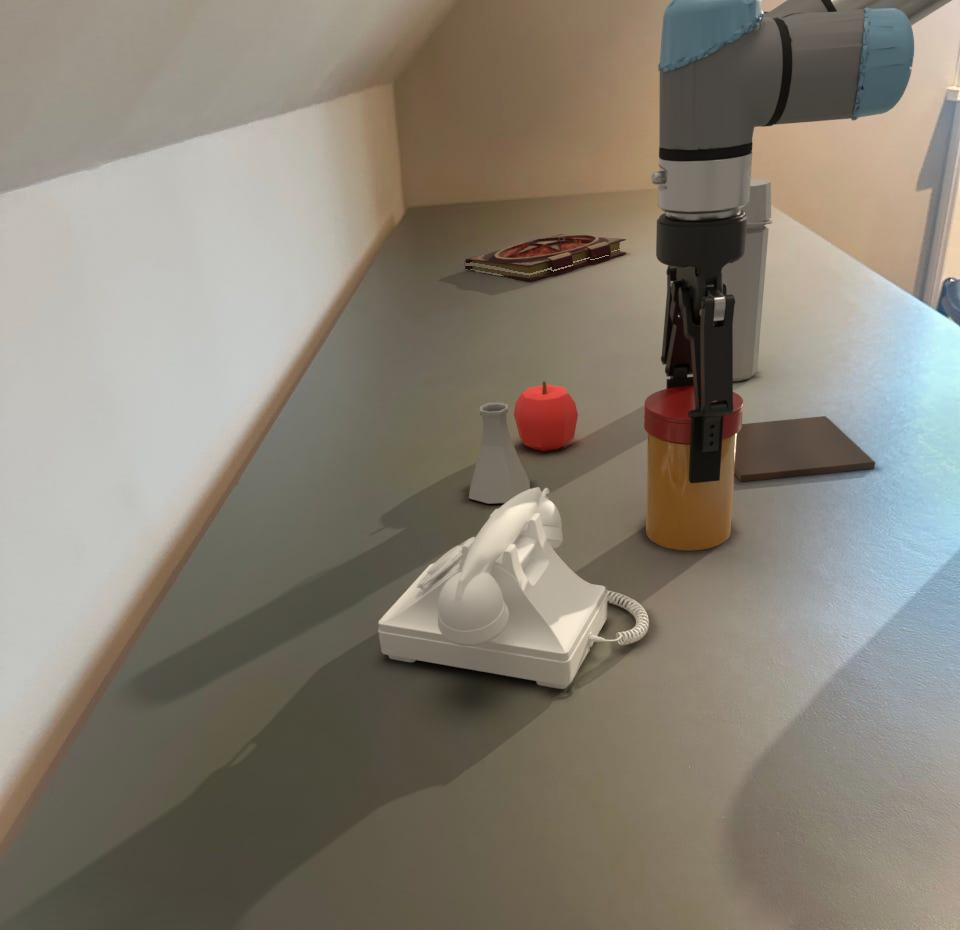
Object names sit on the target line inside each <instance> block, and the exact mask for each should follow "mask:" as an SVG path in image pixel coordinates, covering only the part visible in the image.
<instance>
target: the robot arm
mask: <svg viewBox="0 0 960 930" xmlns="http://www.w3.org/2000/svg"><path fill="white" fill-rule="evenodd" d="M952 1H953V0H785V1H783V2H782V3H781V4H779V5H778V6H776V7H775V8H773V9H771V10H769V11H763V9H762V8H763V6H762V4H763V0H671V1H669V2H670V3H668V4H667V6H666V7H665V10H664V12H663V16H662V25H661V26H662V27H661V38H660V39H661V40H660V51H659V52H660V54H659V63H658V68H657V69H658V72H659V143H658V144H659V147H658V167H659V171H656V172H653V173H652V174H651V183H652V185H656V186H657V207H658V208H659V209H660V210H661V211H663V212H664V213H662V214H660V215H659V217H658V218H657V219H656V239H655V241H656V243H655V247H656V248H655V256H656V259H657V261H658V262H659V263H661V264H663V265H666V266H667V268H666V279H667V280H666V298H665V299H666V301H665V309H664V310H665V311H664V323H663V334H662V348H661V356H660V362H661V364H662V366H665V367H664V373H665V376H666V377H669V378H666V388H665V389H668V388H673V387H680V386H694V395H695V410H690V411H688V412H687V414H688V417H689V418H691V439H690V462H689V481H690V483H699V482H710V481H720V466H721V450H722V434H723V418H724V415H730V414H732V412H733V392H734V382H733V315H734V305H735V299H734V295H733V294H729V295H727V290H726V284H725V283H723V282H722V273H721V271H722V268H723V267H724V266H725V265H726V264H728V263H733V262H736V261H738V260H739V259H741V258H742V257H743V255H744V253H745V243H746V228H747V215H746V214H745V212H744V211H742V210H741V208H742V207H744V206H745V205H746V204H747V203H748V202H749V196H750V181H751V179H752V164H753V137H754V132H755V131H754V130H755V128H757V127H761V128H762V127H772V126H774V125H775V126H776V125H788V124H801V123H814V122H824V121H835V120H836V121H838V120H851V121H857V120H858V119H859V118H864V117H865V118H866V117H870V116H871V117H872V116H877V115H882V114H885V113H887V112H889V111H891V110H892V109H894V108H895V106H896V105H897V104H899V102H900V100H901V99H902V97H903V95H904V94H905V92H906V89H907V87H908V84H909V82H910V79H911V75H912V71H913V65H914V57H915V36H914V31H913V26H914V25H915V24H917V23H918V22H920V21H922V20H924V18H926V17H928V16H929V15H931V14H932V13H934V12H936V11H938V10H939V9H941V8H942V7H944V6H945V5H947V4H949V3H951V2H952ZM689 375H690V376H689ZM691 375H692V376H691ZM712 401H716V402H712Z"/></svg>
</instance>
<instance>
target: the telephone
mask: <svg viewBox="0 0 960 930" xmlns="http://www.w3.org/2000/svg"><path fill="white" fill-rule="evenodd" d="M549 494H550V489H549V488H548V487H544V489H541V487H539V486H537V487H532V488H530V489H528V490H526V491H524V492H522V493H520V494H518V495H516V496H515V497H513V498H512V499H510V500H509V501H507V502H506V503H503V504H502V505H501V506H500V507H498V508H495V509H494V510H493V511H492V512H491V513H490V514H489V517H488V519H487V520H486V521H485V523H484V524H483V526H482V527H481V529H479V531H478V533H477V534H476V536H472V537H470V538H467V540H465V541H463V542H462V543H460V544H459V545H455V546H454V547H452V548H450V549H449V550H448V551H446V552H445V553H444V554H443V555H442V556H440V557H439V558H438V559H437V560H436V561H435V562H433V563H430V564H429V565H428V566H427V567H426V568H425V569H424V570H423V571H422V573H420V575H419V576H418V577H417V578H416V579H415V580H414V581H413V583H411V585H410V586H409V587H408V588H407V589H406V590H405V592H403V594H402V595H401V596H400V597H399V598H398V599H397V600H396V601H395V602H394V604H392V606H390V608H389V609H388V610H387V611H386V612H385V613H384V614H383V616H381V618H380V619H379V620H378V623H377V624H378V629H377V631H378V639H379V645H380V651H381V654H383V655H386V656H388V658H389V659H390V660H395V661H400V662H405V663H415V662H416V661H420V662H421V661H422V662H427V663H431V664H436V665H437V664H438V665H443V666H447V667H454V668H460V669H466V670H472V671H477V672H482V673H483V672H484V673H488V674H494V675H500V676H505V677H511V678H516V679H523V680H528V681H535V682H536V685H538V686H542V687H547V688H554V689H560V690H564V689H567V687H568V686H569V685H570V684H571V683H572V682H573V681H574V678H575V676H576V675H577V673H578V671H579V669H580V667H581V666H582V665H583V662H584V661H585V659H586V657H587V655H588V654H589V652H590V648H592V647H593V645H594V643H604V642H607V643H611V642H617V644H618V645H619V646H624V645H625V646H626V645H630V644H634V643H636V642H638V641H640V640H642V639H643V638H644V636H645V635H646V634H647V632H648V630H649V626H650V620H649V619H650V618H649V614H648V613H647V610H646V609H645V608H644V606H642V605H641V604H640V603H639V602H638V601H636V600H635V599H634V598H631V597H629V596H627V595H626V594H622V593H620V592H617V591H613V590H608V589H607V588H606V586H605V585H600V584H593V583H590V582H588V581H586V580H585V579H583V578H581V577H580V576H579V575H578V574H577V573H576V572H575V571H573V570H572V569H571V567H569V566H568V565H567V563H566V562H564V560H562V558H561V557H560V556H559V555H558V554H557V552H556V551H555V549H558V548H559V547H560V546H561V545H562V544H563V541H564V537H563V524H562V523H563V522H562V518H561V514H560V511H559V509H558V507H557V506H556V504H555V503H554V502H553V501H551V500H550V499H549V498H550V497H549V496H548V495H549ZM608 604H612V605H614V606H618V607H620V608H622V609H624V610H626V611H627V612H629V613H630V614H631V615H632V616H633V617H634V620H635V625H634V627H632V628H631V629H628V630H624V631H621V632H619V631H618V632H616V633H615V638H614V639H605V638H604V637H601V636H598V635H599V634H600V632H601V630H602V628H603V626H604V625H605V624H606V621H607V619H608Z"/></svg>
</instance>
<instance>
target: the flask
mask: <svg viewBox="0 0 960 930" xmlns="http://www.w3.org/2000/svg"><path fill="white" fill-rule="evenodd" d="M508 413H509V404H508V403H504V402H487V403H485V404H482V405H481V406H479V415H480V416H481V417H482V440H481V443H480V448H479V451H478V457H477V460H476V464H475V468H474V471H473V475H472V478H471V482H470V485H469V493H468V499H470V500H473V501H477V502H481V503H484V504H488V505H490V504H505V503H506V502H507V501H509V500H510V499H512V498H513V497H515V496H516V495H518V494H520V493H522V492H524V491H526V490H528V489H531V481H530V479H529V477H528V474H527V473H526V470H525V468H524V465H523V464H522V462H521V460H520V457H519V456H518V453H517V450H516V447H515V446H514V443H513V441H512V438H511V435H510V434H511V433H510V431H509V428H508V422H507V421H508V420H507V414H508Z"/></svg>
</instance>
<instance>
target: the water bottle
mask: <svg viewBox="0 0 960 930" xmlns="http://www.w3.org/2000/svg"><path fill="white" fill-rule="evenodd" d="M741 210H742V211H744V212H745V214H746V215H747V228H746V243H745V253H744V255H743V257H742V258H741V259H739V260H738V261H736V262H733V263H728V264H726V265H725V266H724V267H723V268H722V271H721V273H722V282H723V283H725V284H726V290H727V295H729V294H733V295H734V299H735V305H734V315H733V383H734V382H741V381H746V380H748V379H750V378H752V377H753V376H754V375H755V374H756V373H757V372H758V364H759V354H760V341H761V330H762V329H761V328H762V316H763V303H764V290H765V278H766V267H767V266H766V265H767V253H768V242H769V240H768V239H769V231H770V230H769V228H768V226H767V225H771V224H772V223H773V220H771V218H772V181H771V180H769V179H765V178H751V181H750V196H749V202H748V203H747V204H746V205H745V206H744V207H742V208H741Z"/></svg>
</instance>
